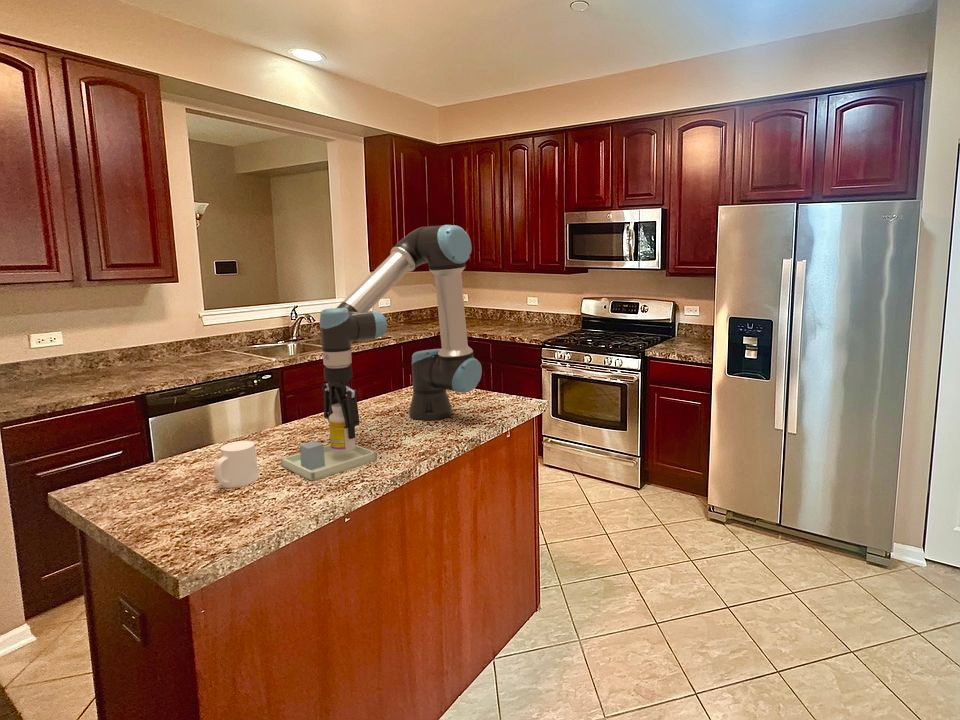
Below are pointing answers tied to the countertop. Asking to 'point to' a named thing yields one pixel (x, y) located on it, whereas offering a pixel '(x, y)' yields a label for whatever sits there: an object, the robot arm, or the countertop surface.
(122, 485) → the countertop surface
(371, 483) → the countertop surface
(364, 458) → the tray
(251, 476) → the mug
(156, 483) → the countertop surface
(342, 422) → the supplement bottle
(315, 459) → the grey rectangular block
